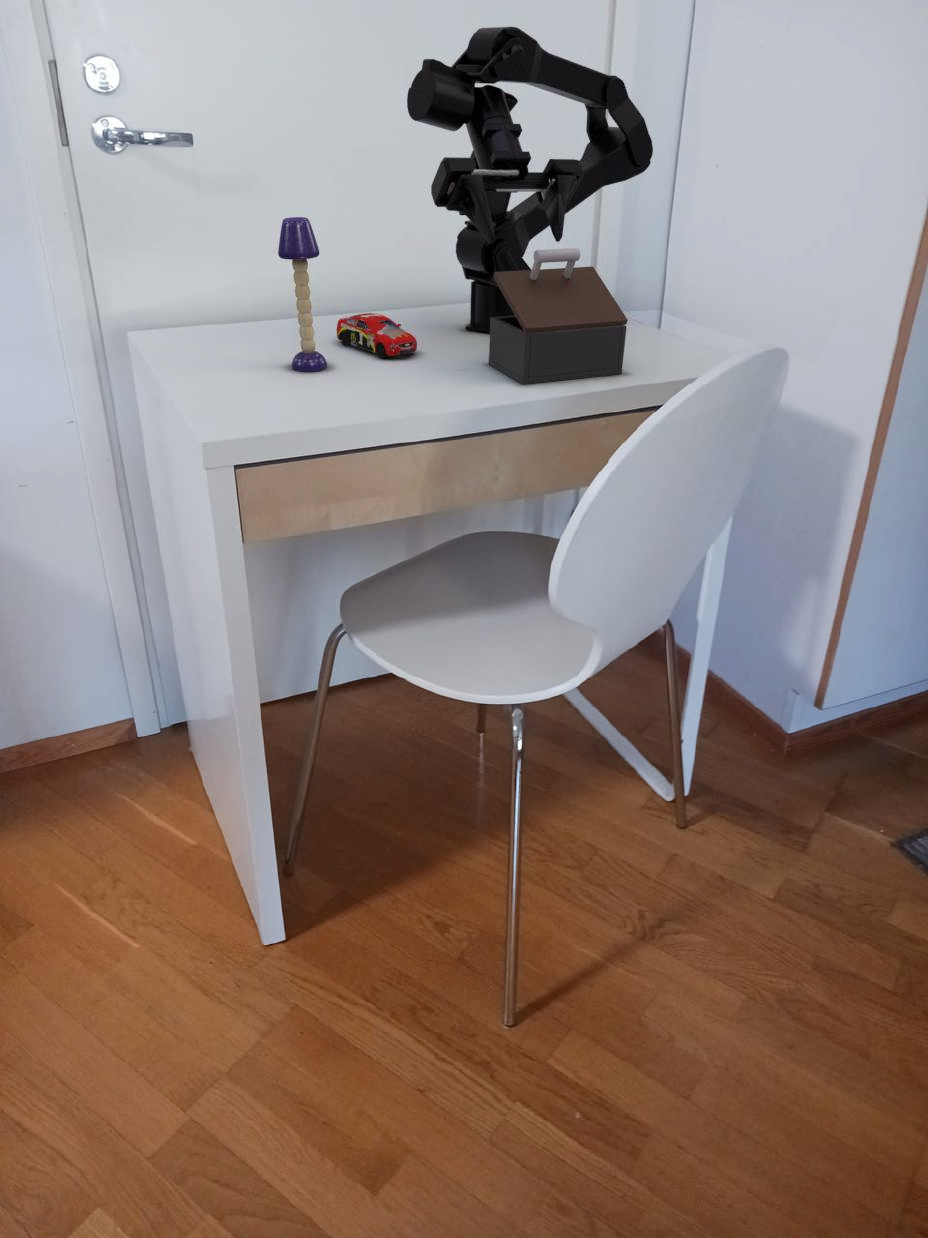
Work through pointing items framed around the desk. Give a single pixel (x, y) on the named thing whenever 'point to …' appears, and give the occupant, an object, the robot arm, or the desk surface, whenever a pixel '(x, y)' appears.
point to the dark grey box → (555, 351)
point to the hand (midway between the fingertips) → (526, 240)
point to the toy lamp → (302, 287)
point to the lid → (559, 295)
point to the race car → (375, 335)
